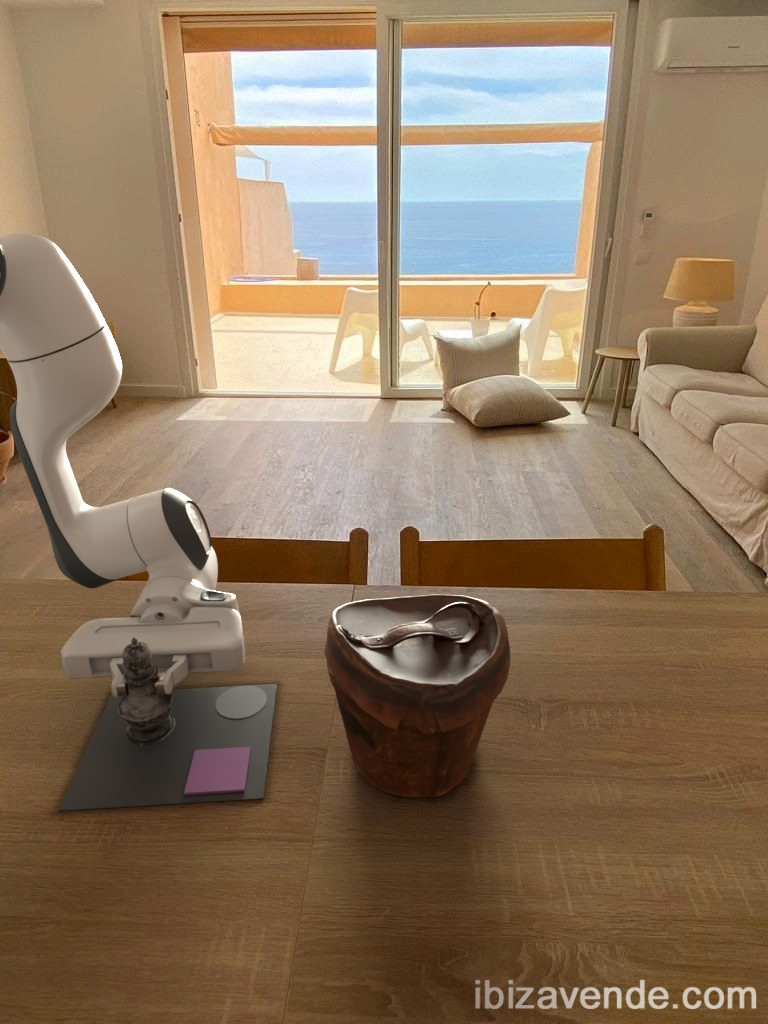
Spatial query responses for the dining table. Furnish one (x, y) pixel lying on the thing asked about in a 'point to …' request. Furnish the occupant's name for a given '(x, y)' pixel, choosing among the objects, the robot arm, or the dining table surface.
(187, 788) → the pink square tile
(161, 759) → the mat
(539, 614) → the dining table surface
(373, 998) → the dining table surface
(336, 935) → the dining table surface
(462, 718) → the brown pot
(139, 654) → the chess piece
